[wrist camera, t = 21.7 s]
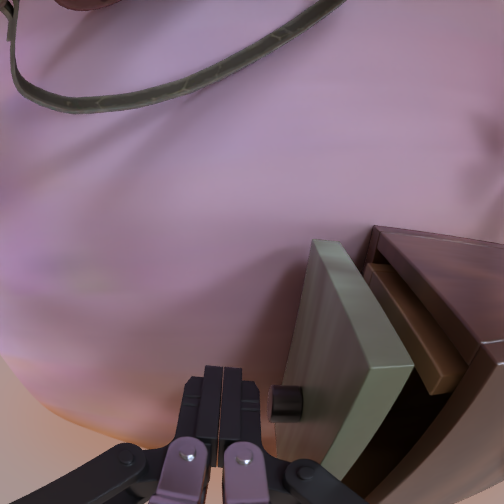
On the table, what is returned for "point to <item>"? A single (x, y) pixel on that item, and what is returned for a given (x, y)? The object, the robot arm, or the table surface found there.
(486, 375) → the cabinet
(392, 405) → the drawer
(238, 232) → the table surface
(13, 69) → the binoculars
